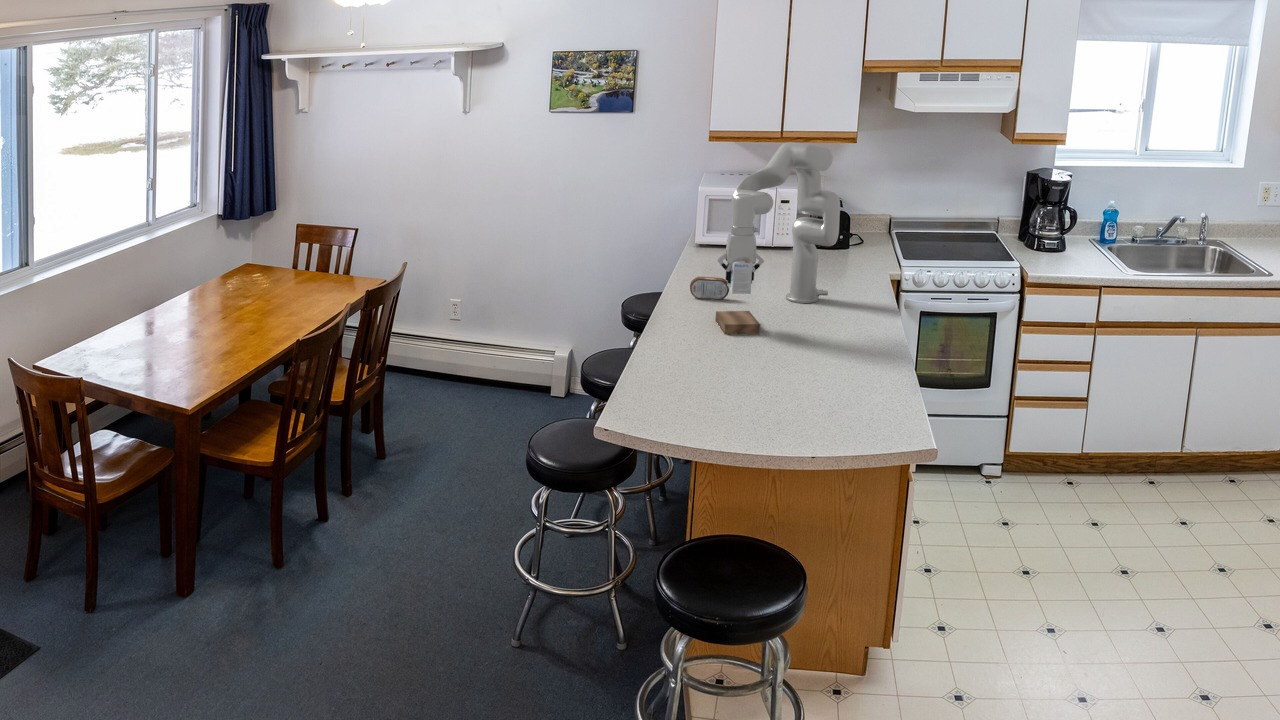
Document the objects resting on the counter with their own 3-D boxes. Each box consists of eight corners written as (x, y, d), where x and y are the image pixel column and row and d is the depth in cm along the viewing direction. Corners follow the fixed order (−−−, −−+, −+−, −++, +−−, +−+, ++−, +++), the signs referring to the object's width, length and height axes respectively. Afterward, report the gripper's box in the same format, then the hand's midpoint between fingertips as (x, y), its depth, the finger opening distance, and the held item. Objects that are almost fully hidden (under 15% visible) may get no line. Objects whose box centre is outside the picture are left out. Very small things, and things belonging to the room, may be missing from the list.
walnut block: (748, 321, 368) (749, 310, 367) (759, 335, 353) (759, 323, 352) (715, 322, 367) (715, 311, 365) (724, 335, 352) (725, 324, 350)
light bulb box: (727, 286, 360) (728, 255, 357) (746, 286, 361) (747, 255, 357) (731, 294, 350) (733, 262, 347) (751, 294, 351) (753, 263, 347)
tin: (728, 298, 395) (730, 277, 392) (728, 301, 392) (729, 279, 390) (689, 296, 397) (690, 275, 394) (689, 299, 394) (690, 277, 391)
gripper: (765, 229, 353) (762, 280, 359) (715, 228, 352) (712, 279, 358) (769, 233, 346) (766, 285, 352) (718, 233, 345) (715, 285, 350)
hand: (739, 282), depth 355 cm, fingers closed on light bulb box, 6 cm apart
